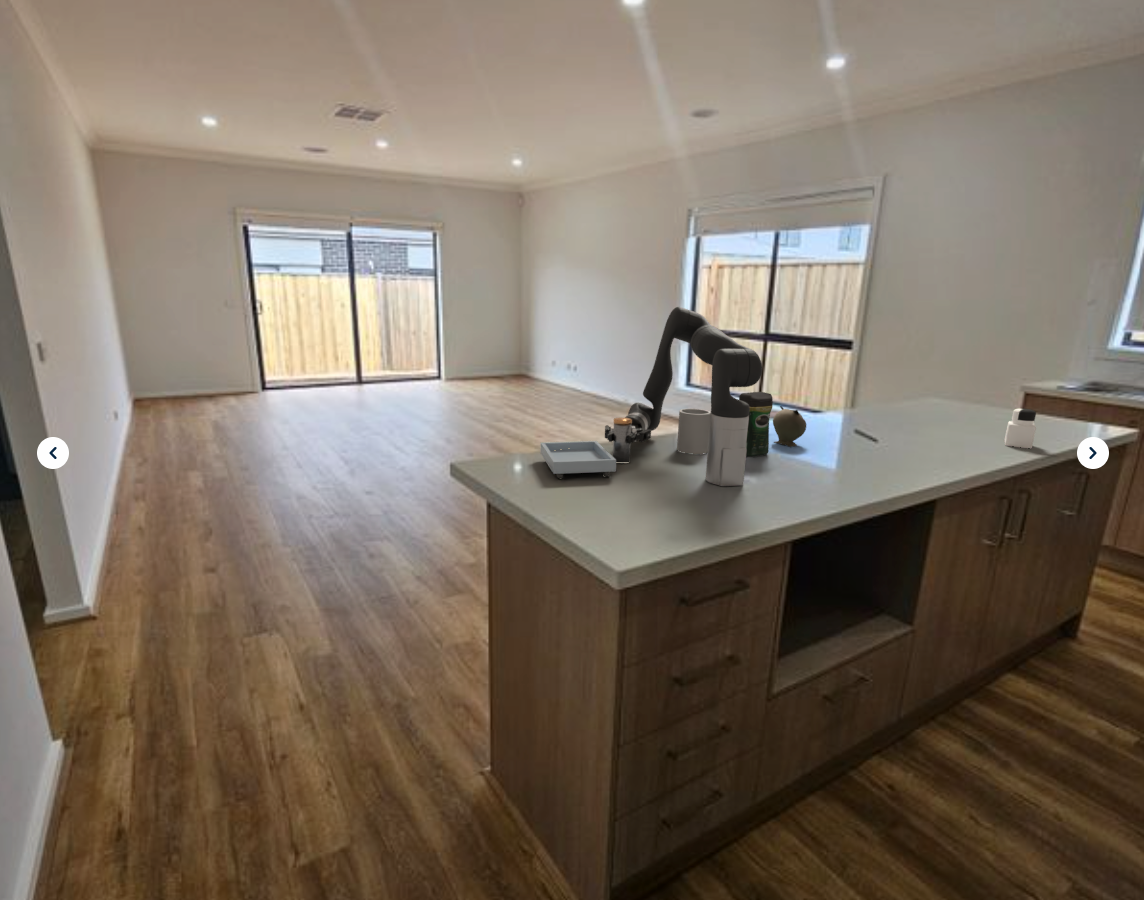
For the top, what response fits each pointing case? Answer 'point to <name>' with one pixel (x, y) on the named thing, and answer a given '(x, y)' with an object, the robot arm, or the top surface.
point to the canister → (621, 439)
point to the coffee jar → (758, 422)
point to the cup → (693, 431)
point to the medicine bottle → (1021, 429)
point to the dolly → (577, 457)
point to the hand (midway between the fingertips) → (619, 439)
